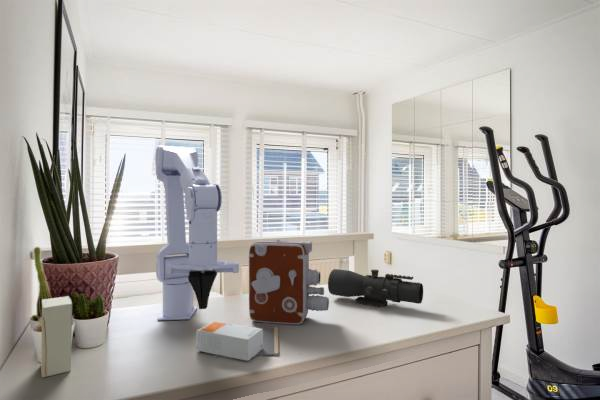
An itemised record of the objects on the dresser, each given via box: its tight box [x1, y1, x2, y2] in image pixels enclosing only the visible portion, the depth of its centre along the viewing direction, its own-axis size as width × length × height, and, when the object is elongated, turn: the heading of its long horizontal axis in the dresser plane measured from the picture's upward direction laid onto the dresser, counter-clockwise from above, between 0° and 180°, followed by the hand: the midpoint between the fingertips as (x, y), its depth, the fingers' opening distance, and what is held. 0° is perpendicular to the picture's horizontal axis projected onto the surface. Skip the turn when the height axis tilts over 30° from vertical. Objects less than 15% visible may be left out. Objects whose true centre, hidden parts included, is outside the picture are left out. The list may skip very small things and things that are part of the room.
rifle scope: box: [327, 268, 424, 309], centre depth 102 cm, size 10×26×10 cm, turn 58°
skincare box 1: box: [40, 295, 73, 378], centre depth 64 cm, size 6×4×12 cm
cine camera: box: [248, 239, 330, 325], centre depth 89 cm, size 9×19×20 cm, turn 78°
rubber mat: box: [215, 326, 280, 359], centre depth 76 cm, size 14×12×1 cm
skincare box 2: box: [195, 320, 263, 362], centre depth 71 cm, size 6×4×12 cm
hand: (203, 307), depth 74 cm, fingers closed
